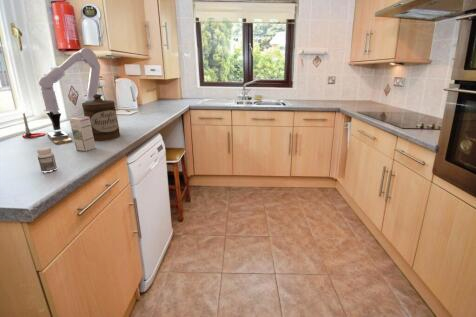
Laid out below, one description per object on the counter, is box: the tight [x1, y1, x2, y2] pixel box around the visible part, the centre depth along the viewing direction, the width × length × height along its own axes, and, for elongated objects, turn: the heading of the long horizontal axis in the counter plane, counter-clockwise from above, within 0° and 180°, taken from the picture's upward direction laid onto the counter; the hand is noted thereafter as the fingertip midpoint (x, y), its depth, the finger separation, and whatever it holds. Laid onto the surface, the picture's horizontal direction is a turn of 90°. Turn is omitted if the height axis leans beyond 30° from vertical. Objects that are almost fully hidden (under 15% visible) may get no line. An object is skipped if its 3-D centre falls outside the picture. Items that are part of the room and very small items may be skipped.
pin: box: [50, 119, 61, 131], centre depth 150 cm, size 4×4×8 cm
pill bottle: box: [36, 146, 58, 172], centre depth 98 cm, size 5×5×8 cm
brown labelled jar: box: [81, 93, 121, 142], centre depth 139 cm, size 15×15×22 cm
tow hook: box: [22, 112, 46, 139], centre depth 146 cm, size 8×13×9 cm
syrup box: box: [68, 115, 97, 152], centre depth 121 cm, size 6×6×14 cm
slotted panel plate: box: [47, 130, 73, 145], centre depth 140 cm, size 7×19×2 cm, turn 42°
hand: (56, 125), depth 150 cm, fingers closed on pin, 4 cm apart
